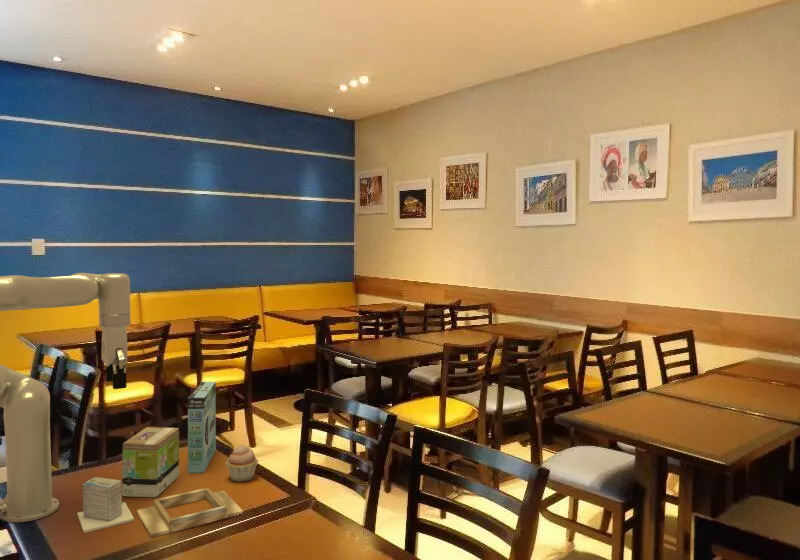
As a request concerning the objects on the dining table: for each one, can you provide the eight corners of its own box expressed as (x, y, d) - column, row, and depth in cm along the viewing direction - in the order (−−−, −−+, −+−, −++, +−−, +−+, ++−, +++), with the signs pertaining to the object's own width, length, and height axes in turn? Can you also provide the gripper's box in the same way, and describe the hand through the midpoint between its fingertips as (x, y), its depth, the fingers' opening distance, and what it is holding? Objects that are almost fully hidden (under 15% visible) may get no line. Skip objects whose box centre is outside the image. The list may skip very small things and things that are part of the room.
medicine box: (122, 513, 150) (122, 479, 150) (109, 522, 146) (109, 487, 145) (96, 509, 152) (95, 476, 152) (82, 517, 148) (81, 483, 147)
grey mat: (83, 532, 142) (83, 530, 141) (77, 515, 151) (77, 512, 150) (134, 520, 148) (134, 518, 148) (125, 504, 157) (125, 502, 157)
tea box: (158, 498, 161) (157, 443, 160) (121, 497, 161) (120, 443, 160) (180, 476, 176) (179, 426, 175) (146, 475, 176) (145, 425, 175)
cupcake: (257, 470, 181) (257, 437, 180) (259, 482, 172) (259, 448, 171) (225, 473, 178) (225, 440, 178) (225, 485, 169) (224, 450, 169)
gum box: (201, 450, 197) (200, 381, 195) (217, 450, 198) (216, 381, 196) (187, 473, 178) (186, 397, 176) (205, 473, 178) (204, 397, 177)
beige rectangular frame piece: (151, 538, 139) (151, 525, 139) (137, 513, 152) (136, 501, 152) (243, 514, 152) (243, 502, 152) (223, 493, 164) (223, 482, 164)
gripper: (93, 317, 164) (95, 379, 165) (104, 325, 149) (106, 393, 151) (123, 315, 168) (125, 376, 169) (137, 323, 154) (138, 389, 155)
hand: (116, 384), depth 160 cm, fingers open, 9 cm apart
